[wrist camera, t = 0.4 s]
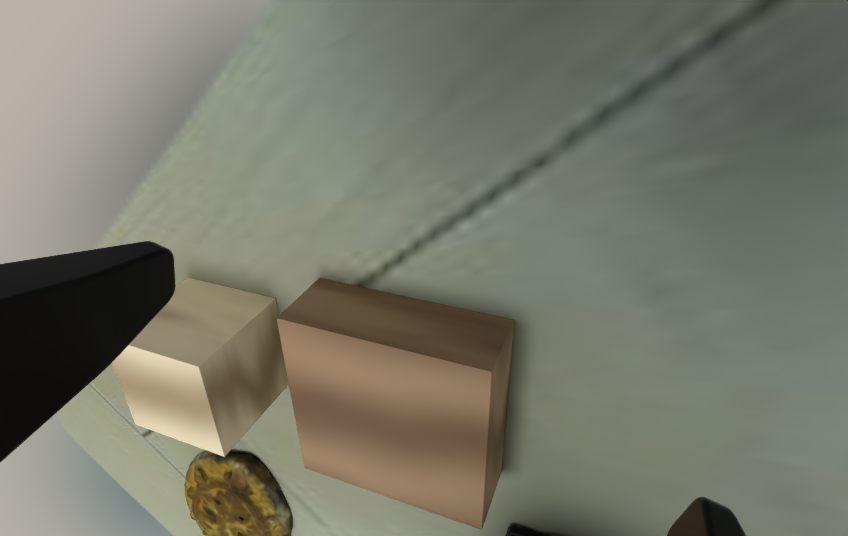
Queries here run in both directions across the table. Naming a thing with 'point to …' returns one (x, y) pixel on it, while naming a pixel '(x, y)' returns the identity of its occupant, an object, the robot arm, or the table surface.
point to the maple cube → (205, 365)
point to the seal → (235, 497)
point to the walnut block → (400, 395)
